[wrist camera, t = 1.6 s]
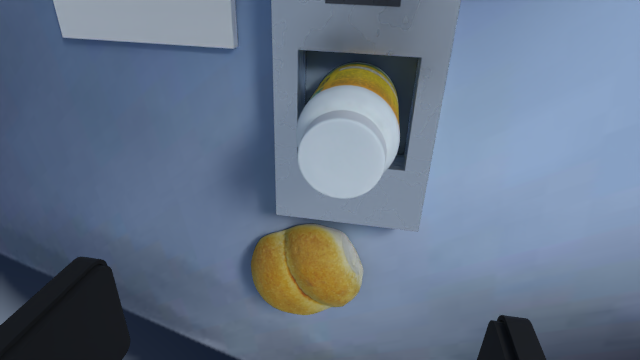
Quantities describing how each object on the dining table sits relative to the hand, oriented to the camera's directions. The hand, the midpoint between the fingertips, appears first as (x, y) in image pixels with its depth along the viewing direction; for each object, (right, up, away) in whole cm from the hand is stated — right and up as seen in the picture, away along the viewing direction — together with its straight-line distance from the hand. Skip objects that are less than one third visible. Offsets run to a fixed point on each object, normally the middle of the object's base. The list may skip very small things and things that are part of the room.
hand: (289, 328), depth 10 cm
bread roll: (0, -3, +24) cm, 24 cm away
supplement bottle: (+3, +9, +16) cm, 19 cm away
